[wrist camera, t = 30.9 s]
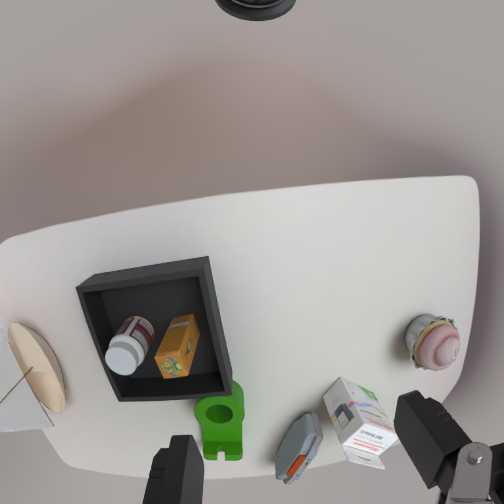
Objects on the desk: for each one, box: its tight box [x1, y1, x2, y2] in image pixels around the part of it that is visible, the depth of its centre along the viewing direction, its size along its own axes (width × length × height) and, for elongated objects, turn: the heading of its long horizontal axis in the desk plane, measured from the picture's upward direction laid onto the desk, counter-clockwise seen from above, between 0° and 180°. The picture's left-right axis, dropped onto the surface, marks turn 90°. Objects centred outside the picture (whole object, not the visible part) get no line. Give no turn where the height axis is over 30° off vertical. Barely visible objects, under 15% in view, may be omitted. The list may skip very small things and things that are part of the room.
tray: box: [76, 256, 232, 402], centre depth 38 cm, size 18×17×6 cm
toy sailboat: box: [0, 323, 65, 432], centre depth 29 cm, size 21×25×9 cm
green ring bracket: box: [195, 380, 244, 461], centre depth 42 cm, size 15×7×5 cm, turn 179°
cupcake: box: [405, 314, 460, 371], centre depth 39 cm, size 9×9×10 cm
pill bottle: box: [105, 316, 154, 375], centre depth 36 cm, size 5×5×8 cm
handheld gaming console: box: [275, 413, 323, 484], centre depth 43 cm, size 14×3×8 cm, turn 162°
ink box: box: [323, 377, 398, 469], centre depth 38 cm, size 9×5×15 cm, turn 56°
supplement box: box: [154, 314, 200, 379], centre depth 35 cm, size 3×3×10 cm
